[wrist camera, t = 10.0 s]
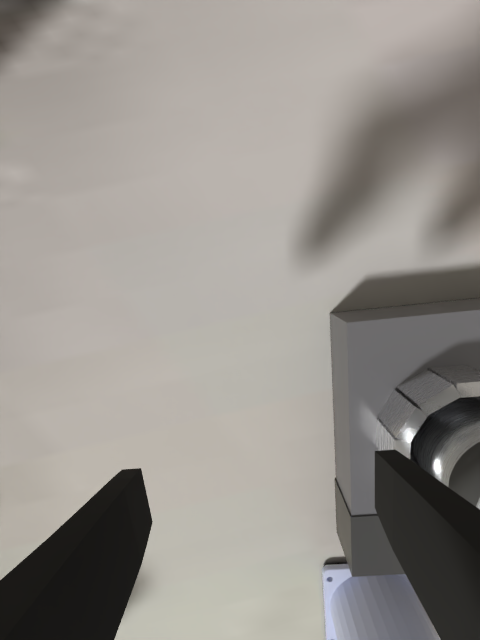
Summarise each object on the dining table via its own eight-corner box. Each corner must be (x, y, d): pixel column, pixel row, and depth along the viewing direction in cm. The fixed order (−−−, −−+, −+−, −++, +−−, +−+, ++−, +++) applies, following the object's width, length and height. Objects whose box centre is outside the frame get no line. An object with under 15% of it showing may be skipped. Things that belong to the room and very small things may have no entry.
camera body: (480, 522, 20) (554, 604, 16) (336, 531, 21) (364, 612, 16) (503, 295, 17) (609, 308, 12) (328, 313, 17) (360, 331, 12)
